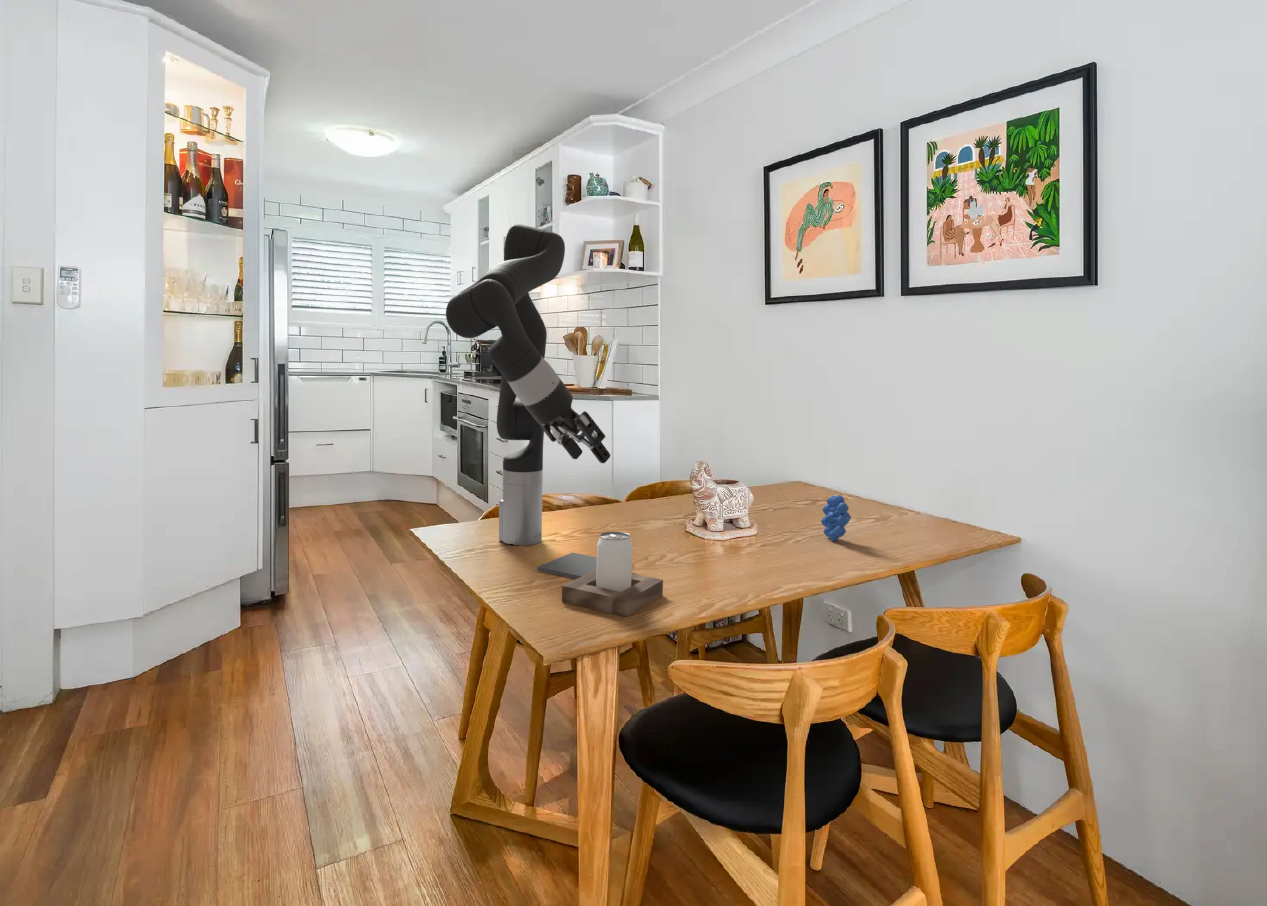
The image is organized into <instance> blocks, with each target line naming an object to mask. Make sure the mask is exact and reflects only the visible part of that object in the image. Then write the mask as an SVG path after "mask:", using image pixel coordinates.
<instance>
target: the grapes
mask: <svg viewBox="0 0 1267 906" xmlns="http://www.w3.org/2000/svg"><path fill="white" fill-rule="evenodd" d="M845 500H846V499H844V497H843V496H842V495H841V494H837V495H831V496H830V497H828V499H827V500H826V504H825V505H824V506H823V508H822V509H821V510H822V513H823V514H824V516H823V517H822V519H821V520H820V521H821V525H822V526H823V527H825V528H824V529H823V531H822V532H823V534H824V535H825V537H827V538H828V539H829V540H831V541H832V542H836V541H838V540H839V539H840V538H841V537H843V536H844V535H845V534H846V532H847V530H846V528H845V527H846V526H847V525H848V524H849V523H850V520H851V518H852V517H851V515H850V513H849V512H848V511H849V509H850V507H849V505H848V504H847V503H846V501H845Z"/></svg>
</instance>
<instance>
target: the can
mask: <svg viewBox="0 0 1267 906" xmlns="http://www.w3.org/2000/svg"><path fill="white" fill-rule="evenodd" d="M596 557H597V570H596V587H600V588H604V589H609V590H613V591H618V592H623V591H624V590H626V589H628V588H630V587H631V575H632V574H633V573H632V572H633V570H632V569H633V568H632V567H633V543H632V540H631V534H630V533H628V532H627V533H626V532H623V531H606V532H602V533H600V534H599V539H598V541H597V546H596Z"/></svg>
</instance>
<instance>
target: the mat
mask: <svg viewBox="0 0 1267 906" xmlns="http://www.w3.org/2000/svg"><path fill="white" fill-rule="evenodd" d="M537 570H538V572H541V571H542V572H541V573H546V574H550V573H551V574H550V575H557V576H560V575H561V576H560V577H565V578H570V579H573V580H575V579H578V578H580V577H582V576H584V575H586V574H588V573H590V572H592V571H595V570H597V556H592V555H588V554H587V555H586V554H581V553H577V552H570V553H567V554H565V555H562V556H560V557H558V558H555V559H552V560H550V561H547V562H545V563H543V564H540V565H538V566H536V571H537Z"/></svg>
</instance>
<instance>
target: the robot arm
mask: <svg viewBox="0 0 1267 906" xmlns="http://www.w3.org/2000/svg"><path fill="white" fill-rule="evenodd" d="M565 245H566V244H565V241H564V239H563V237H562V236H561V235H560V234H558V233H555V232H553V231H550V230H547V229H542V228H539V227H534V226H530V225H525V224H522V223H521V224H520V223H516V224H513V225H511V226H510V228H508V231H507V233H506V236H505V240H504V248H503V261H501V262H499V263H497V264H495V265H493V266H492V267H491V268H490V269H488V270H487V271H486V272H485V273H484V274H482V276H481V277H480V278H479V279H478V280H476V282H474V283H472V285H469V286H467V288H465V289H463V290H462V291H459V293H457V294H455V295H454V296H453V297H451V298H450V299H449V301H448V302H447V305H446V308H445V318H446V319H445V320H446V322H447V324H448V327H449V328H450V329H451V331H453V333H454V334H455V335H457V336H459V337H461V338H464V339H475V338H477V337H480V336H481V335H483V334H485V333H486V332H488V331H490V330H492V329H494V328H496V327H497V328H498V329H499V331H500V333H501V336H500V337H498V339H496V341H494V342H493V343H492V345H491V346H490V348H489V350H488V357H489V359H490V361H491V362H492V364H493V365H494V366H495V368H496V369H497V370H498V372H499V373H500V375H501V376H500V386H499V387H500V388H499V396H498V404H497V413H496V431H497V434H498V436H499V437H500V438H501V440H505V441H529V442H528V444H527V445H526V446H525V447H523V448H522V449H520V450H518V451H516V452H512V453H510V454H507V455H506V456H504V457H503V460H502V499H500V500H499V501H498V540H499V541H501V540H502V542H503V543H504V544H507V545H510V544H513V545H512V546H532V544H533V545H537V544H539V543H542V540H543V537H542V536H543V533H542V532H543V485H544V483H543V480H544V479H543V478H544V477H543V471H544V465H543V463H544V461H543V460H544V436H545V435H546V436H547V437H548V438H549V440H550V441H551V442H552V443H555V442H557V444H558V445H560V446H562V447H563V449H564V450H565V451H566V452H567V454H568V455H569V457H571V459H573V460H578V459H579V458H580V456H581V455H583V449H582V448H581V447H580V446H579V443H582V444H583V445H585V446H586V447H587V448H588V449H589V450H590V451H591V453H592V454H593V455H594V457H595V458H596V459H597V461H598V462H599V463H600V464H606V462H607V461H608V460H609V459H610V458H611V453H610V452H609V450H608V449H607V447H606V446H605V445H604V444H603V440H605V438H606V434H605V433H604V432H603V431H602V429H601V428H600V427H599V425H598V424H597V423H596V422H595V421H594V419H593V418H592V417H591V416H590V415H591V414H589V413H588V412H587V411H585V410H584V411H583V412H581V413H580V414H579V413H577V412H576V411H575V410H574V409H573V408H572V404H573V400H574V397H573V395H572V393H571V391H570V390H569V389H568V388H567V386H566V385H565V383H564V382H563V381H562V379H561V377H560V376H559V375H558V373H556V371H555V370H554V368H553V367H552V365H550V363H549V362H548V361H547V360H546V359H545V358H546V349H547V348H546V346H547V340H548V339H547V338H548V337H547V335H548V333H547V328H546V325H545V322H544V319H542V316H541V314H540V313H539V310H538V309H537V307H536V305H535V303H534V301H533V299H532V298H531V295H530V292H531V291H534V290H535V289H537V288H539V287H541V286H543V285H545V284H547V283H549V282H552V281H553V280H555V278H556V277H557V276H558V275H559V273H560V272H561V270H562V267H563V264H564V259H565V253H566V246H565ZM517 398H518V399H519V400H517ZM580 432H581V433H580ZM579 433H580V434H579Z"/></svg>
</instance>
